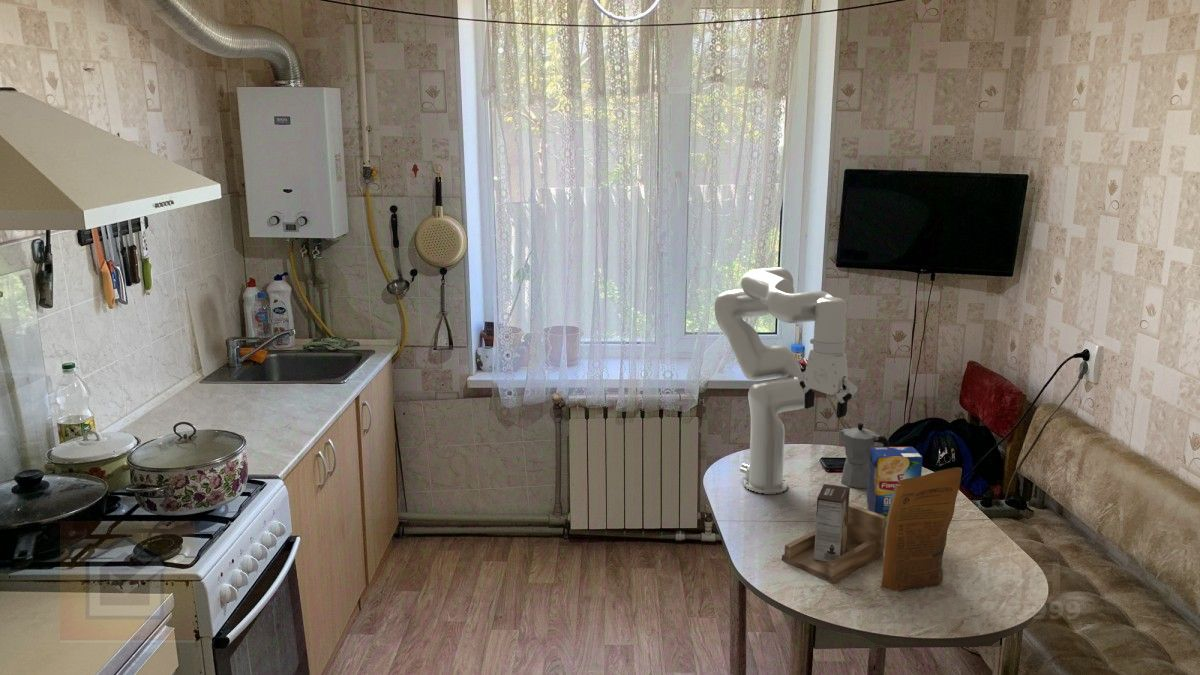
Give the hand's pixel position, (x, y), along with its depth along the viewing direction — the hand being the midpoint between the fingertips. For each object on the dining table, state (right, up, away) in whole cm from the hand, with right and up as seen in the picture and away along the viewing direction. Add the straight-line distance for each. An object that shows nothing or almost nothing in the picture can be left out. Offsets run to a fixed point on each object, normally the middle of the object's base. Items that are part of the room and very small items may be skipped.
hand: (824, 411), depth 228 cm
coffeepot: (+18, -23, +32) cm, 43 cm away
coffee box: (-2, -33, -13) cm, 36 cm away
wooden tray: (-1, -34, -12) cm, 36 cm away
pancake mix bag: (+14, -37, -25) cm, 47 cm away
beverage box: (+17, -31, +1) cm, 35 cm away
